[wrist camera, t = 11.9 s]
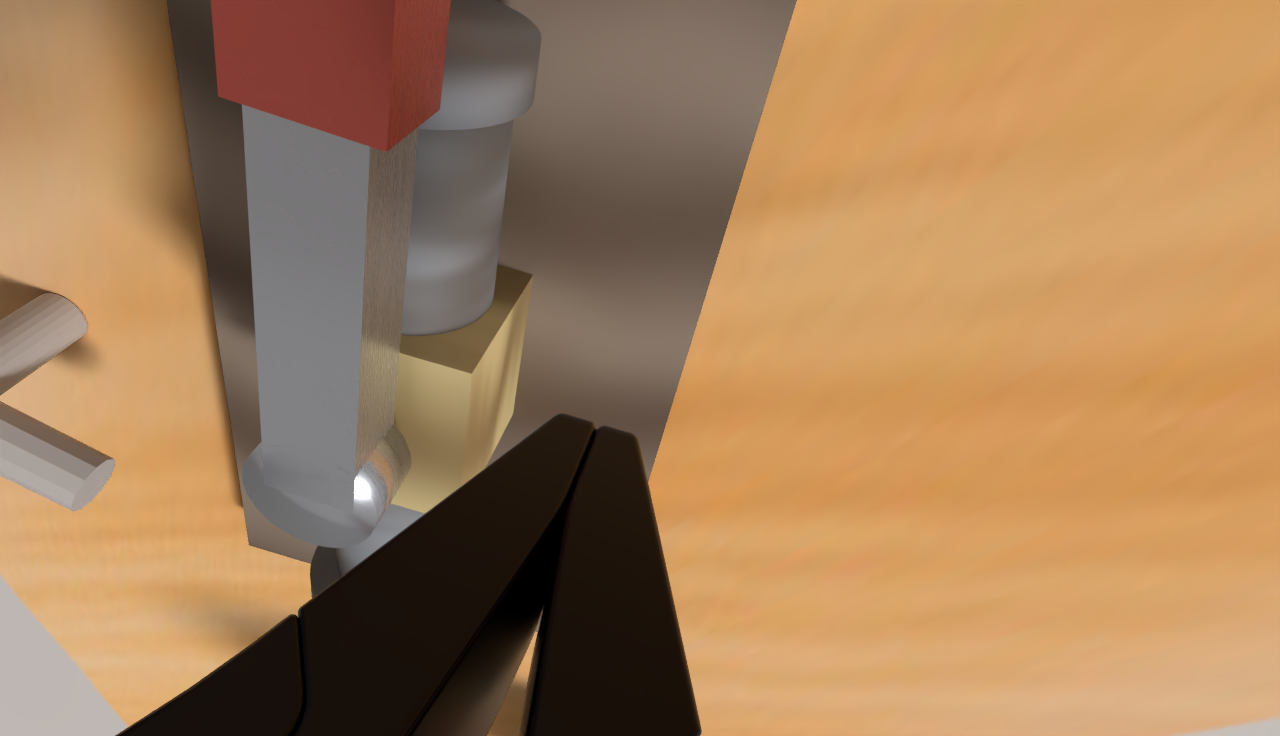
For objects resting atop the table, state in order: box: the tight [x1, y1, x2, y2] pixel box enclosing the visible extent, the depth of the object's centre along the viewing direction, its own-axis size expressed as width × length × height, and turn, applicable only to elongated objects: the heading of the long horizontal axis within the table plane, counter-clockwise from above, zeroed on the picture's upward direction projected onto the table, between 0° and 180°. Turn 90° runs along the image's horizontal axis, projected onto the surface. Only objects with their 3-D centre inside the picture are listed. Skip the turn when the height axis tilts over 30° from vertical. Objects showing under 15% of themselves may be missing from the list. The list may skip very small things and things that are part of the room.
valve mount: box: [167, 0, 797, 632], centre depth 22 cm, size 24×14×6 cm, turn 168°
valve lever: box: [211, 0, 451, 548], centre depth 14 cm, size 15×3×2 cm, turn 165°
